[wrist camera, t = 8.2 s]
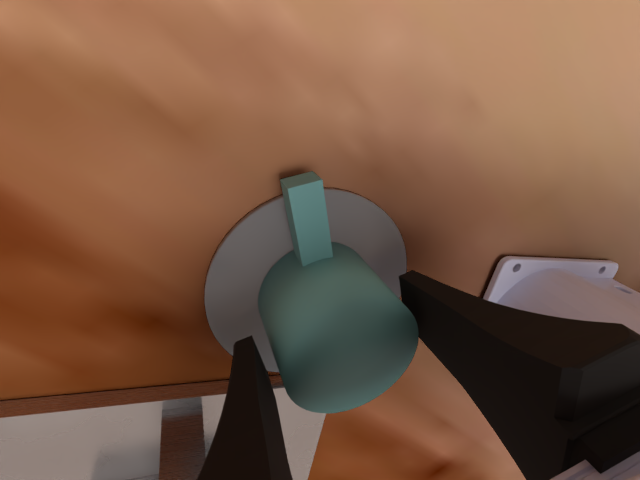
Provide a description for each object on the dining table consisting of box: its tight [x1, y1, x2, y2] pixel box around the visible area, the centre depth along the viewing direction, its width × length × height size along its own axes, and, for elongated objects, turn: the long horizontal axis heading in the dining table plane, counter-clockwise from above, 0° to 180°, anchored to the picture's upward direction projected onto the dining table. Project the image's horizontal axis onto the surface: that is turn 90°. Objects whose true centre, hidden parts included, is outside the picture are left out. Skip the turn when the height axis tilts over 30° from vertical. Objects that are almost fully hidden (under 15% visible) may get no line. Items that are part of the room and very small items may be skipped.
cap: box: [258, 171, 419, 413], centre depth 13 cm, size 5×8×4 cm, turn 9°
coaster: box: [204, 188, 407, 372], centre depth 16 cm, size 9×9×1 cm
